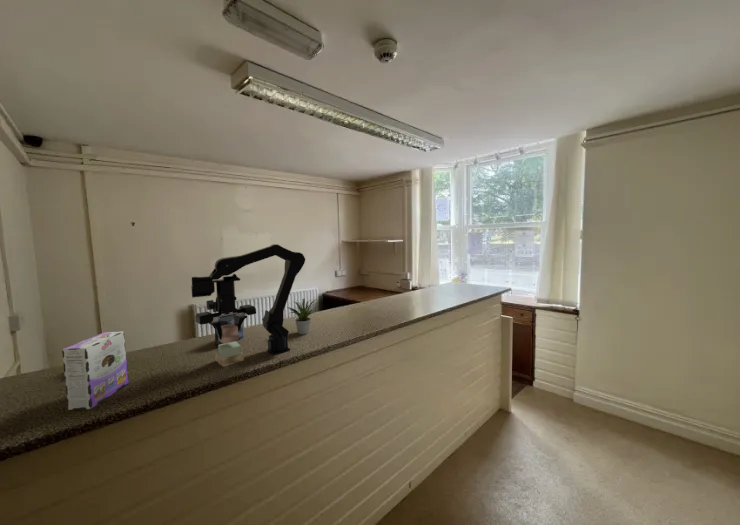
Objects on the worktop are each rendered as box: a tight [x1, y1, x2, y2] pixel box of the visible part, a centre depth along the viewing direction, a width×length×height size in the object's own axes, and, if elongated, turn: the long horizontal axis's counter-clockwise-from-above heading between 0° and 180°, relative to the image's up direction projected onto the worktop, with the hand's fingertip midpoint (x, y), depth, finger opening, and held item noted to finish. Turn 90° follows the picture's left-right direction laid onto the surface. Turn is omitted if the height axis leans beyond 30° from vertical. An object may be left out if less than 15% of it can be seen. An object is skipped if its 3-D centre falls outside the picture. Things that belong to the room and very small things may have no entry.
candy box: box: [61, 330, 129, 411], centre depth 82 cm, size 14×6×16 cm, turn 5°
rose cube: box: [218, 324, 239, 344], centre depth 105 cm, size 5×5×5 cm
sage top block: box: [217, 341, 242, 358], centre depth 106 cm, size 6×6×3 cm
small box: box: [214, 315, 244, 346], centre depth 126 cm, size 11×6×10 cm, turn 168°
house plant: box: [286, 297, 318, 335], centre depth 137 cm, size 14×14×16 cm
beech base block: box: [214, 351, 244, 367], centre depth 106 cm, size 7×7×3 cm
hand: (228, 337), depth 105 cm, fingers closed on rose cube, 5 cm apart
